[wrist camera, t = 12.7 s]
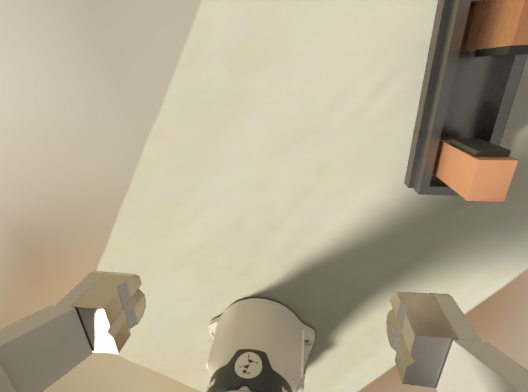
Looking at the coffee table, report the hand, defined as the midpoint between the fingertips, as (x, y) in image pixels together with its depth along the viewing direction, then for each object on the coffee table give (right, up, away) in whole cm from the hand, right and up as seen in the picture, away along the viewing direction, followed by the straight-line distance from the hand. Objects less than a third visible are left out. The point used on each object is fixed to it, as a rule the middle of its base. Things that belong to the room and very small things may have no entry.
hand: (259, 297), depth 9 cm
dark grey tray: (+22, +14, +23) cm, 35 cm away
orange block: (+22, +8, +24) cm, 33 cm away
